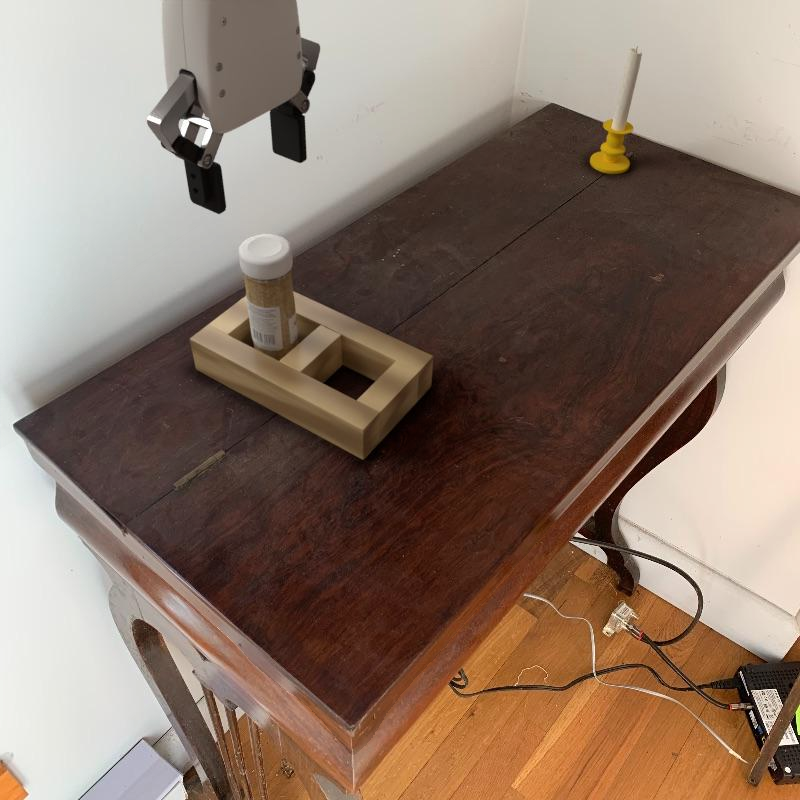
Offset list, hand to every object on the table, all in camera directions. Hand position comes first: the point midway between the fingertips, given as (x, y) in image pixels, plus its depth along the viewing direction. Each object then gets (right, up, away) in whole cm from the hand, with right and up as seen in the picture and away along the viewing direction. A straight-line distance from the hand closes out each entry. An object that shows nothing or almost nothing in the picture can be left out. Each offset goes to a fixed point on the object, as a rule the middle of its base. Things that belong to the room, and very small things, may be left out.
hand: (251, 180), depth 64 cm
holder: (+4, -15, +13) cm, 21 cm away
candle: (+40, +14, +43) cm, 60 cm away
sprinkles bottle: (0, -14, +15) cm, 20 cm away
